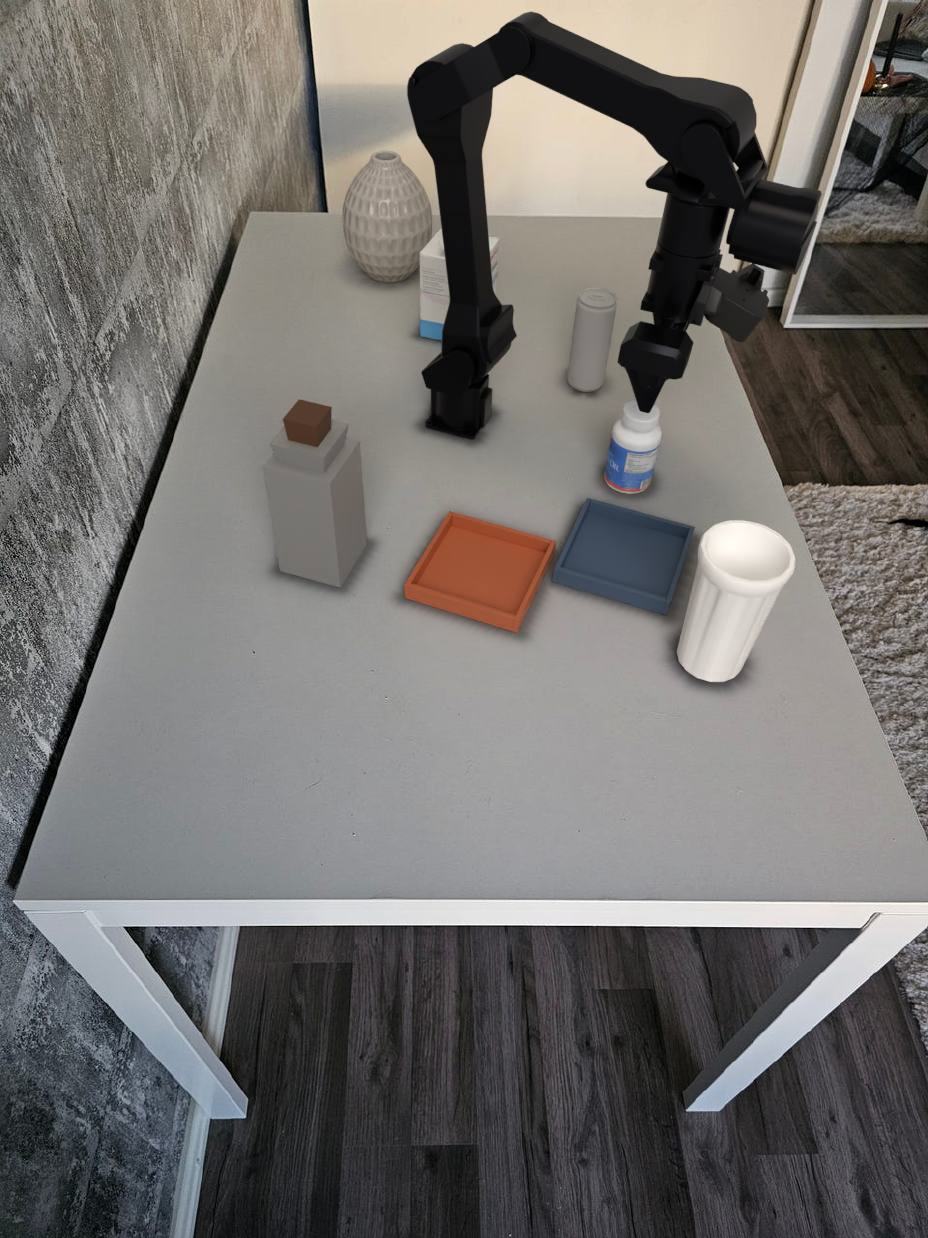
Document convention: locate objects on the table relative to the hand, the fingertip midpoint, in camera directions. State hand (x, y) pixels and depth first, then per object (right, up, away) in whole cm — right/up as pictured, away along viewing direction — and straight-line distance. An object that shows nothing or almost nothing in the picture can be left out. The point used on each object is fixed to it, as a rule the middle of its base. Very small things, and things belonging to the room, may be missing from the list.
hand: (654, 387), depth 96 cm
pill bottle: (-1, -8, +9) cm, 13 cm away
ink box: (-21, +16, +30) cm, 40 cm away
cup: (+3, -28, -8) cm, 30 cm away
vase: (-31, +27, +40) cm, 58 cm away
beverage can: (-5, +6, +22) cm, 23 cm away
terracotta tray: (-18, -20, -2) cm, 27 cm away
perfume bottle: (-35, -18, -1) cm, 39 cm away
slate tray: (-3, -18, 0) cm, 18 cm away
